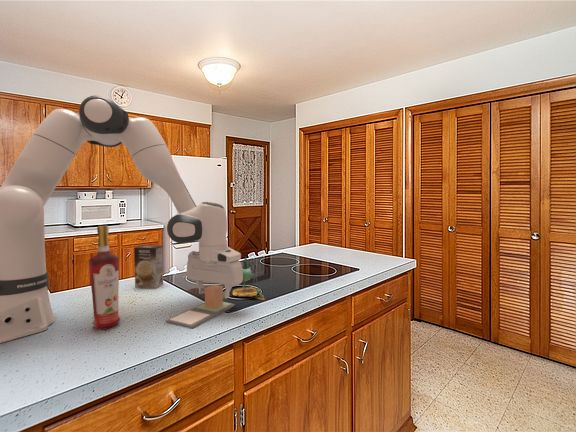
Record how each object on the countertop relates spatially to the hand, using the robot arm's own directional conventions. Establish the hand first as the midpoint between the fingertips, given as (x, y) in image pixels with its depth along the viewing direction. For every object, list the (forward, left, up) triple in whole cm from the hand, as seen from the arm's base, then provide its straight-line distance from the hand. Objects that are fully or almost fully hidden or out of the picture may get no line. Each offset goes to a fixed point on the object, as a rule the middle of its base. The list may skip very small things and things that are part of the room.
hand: (213, 295), depth 106 cm
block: (0, 0, -3) cm, 3 cm away
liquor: (-24, +18, -4) cm, 31 cm away
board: (-5, 0, -4) cm, 7 cm away
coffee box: (+9, +39, -4) cm, 40 cm away
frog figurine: (+16, -2, -4) cm, 17 cm away
